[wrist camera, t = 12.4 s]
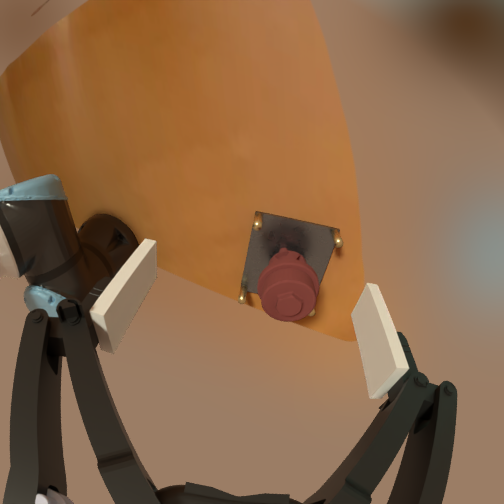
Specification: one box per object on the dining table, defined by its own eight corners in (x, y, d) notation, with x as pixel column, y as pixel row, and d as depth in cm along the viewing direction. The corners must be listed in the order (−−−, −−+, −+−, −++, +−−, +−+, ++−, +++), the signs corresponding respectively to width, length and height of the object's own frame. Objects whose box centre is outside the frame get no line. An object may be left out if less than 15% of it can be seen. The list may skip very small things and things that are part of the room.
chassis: (240, 288, 56) (237, 303, 52) (255, 210, 47) (253, 221, 43) (312, 301, 56) (313, 316, 52) (339, 229, 47) (344, 241, 44)
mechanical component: (325, 260, 50) (288, 292, 55) (285, 227, 48) (249, 264, 52) (335, 304, 40) (289, 338, 44) (287, 267, 37) (241, 308, 42)
